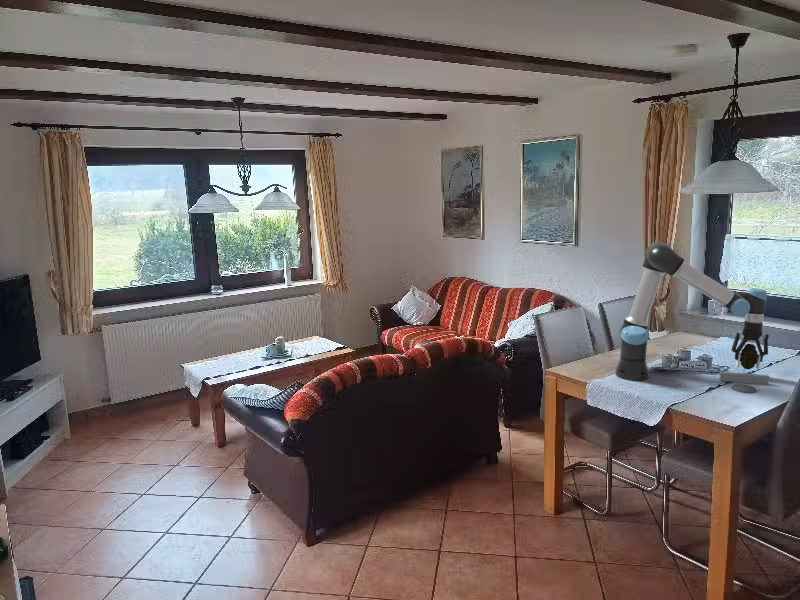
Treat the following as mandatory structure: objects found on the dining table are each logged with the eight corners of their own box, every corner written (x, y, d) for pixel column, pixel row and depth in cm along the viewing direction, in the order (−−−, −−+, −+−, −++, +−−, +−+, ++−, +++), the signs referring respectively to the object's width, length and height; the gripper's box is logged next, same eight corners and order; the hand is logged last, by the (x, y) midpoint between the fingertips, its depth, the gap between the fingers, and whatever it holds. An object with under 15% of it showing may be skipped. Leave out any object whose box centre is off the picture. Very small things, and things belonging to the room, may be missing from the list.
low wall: (719, 380, 274) (720, 372, 274) (719, 379, 276) (720, 371, 275) (768, 384, 268) (769, 376, 268) (767, 383, 270) (768, 375, 269)
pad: (734, 392, 260) (734, 390, 260) (729, 384, 270) (729, 383, 269) (759, 394, 257) (759, 392, 257) (753, 386, 267) (753, 385, 266)
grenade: (759, 371, 275) (762, 347, 273) (741, 370, 277) (744, 346, 274) (752, 366, 283) (756, 342, 280) (735, 365, 284) (738, 341, 281)
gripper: (731, 321, 274) (725, 367, 279) (781, 324, 268) (774, 371, 273) (727, 317, 281) (721, 362, 286) (776, 321, 275) (769, 366, 280)
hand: (747, 367), depth 279 cm, fingers closed on grenade, 8 cm apart
